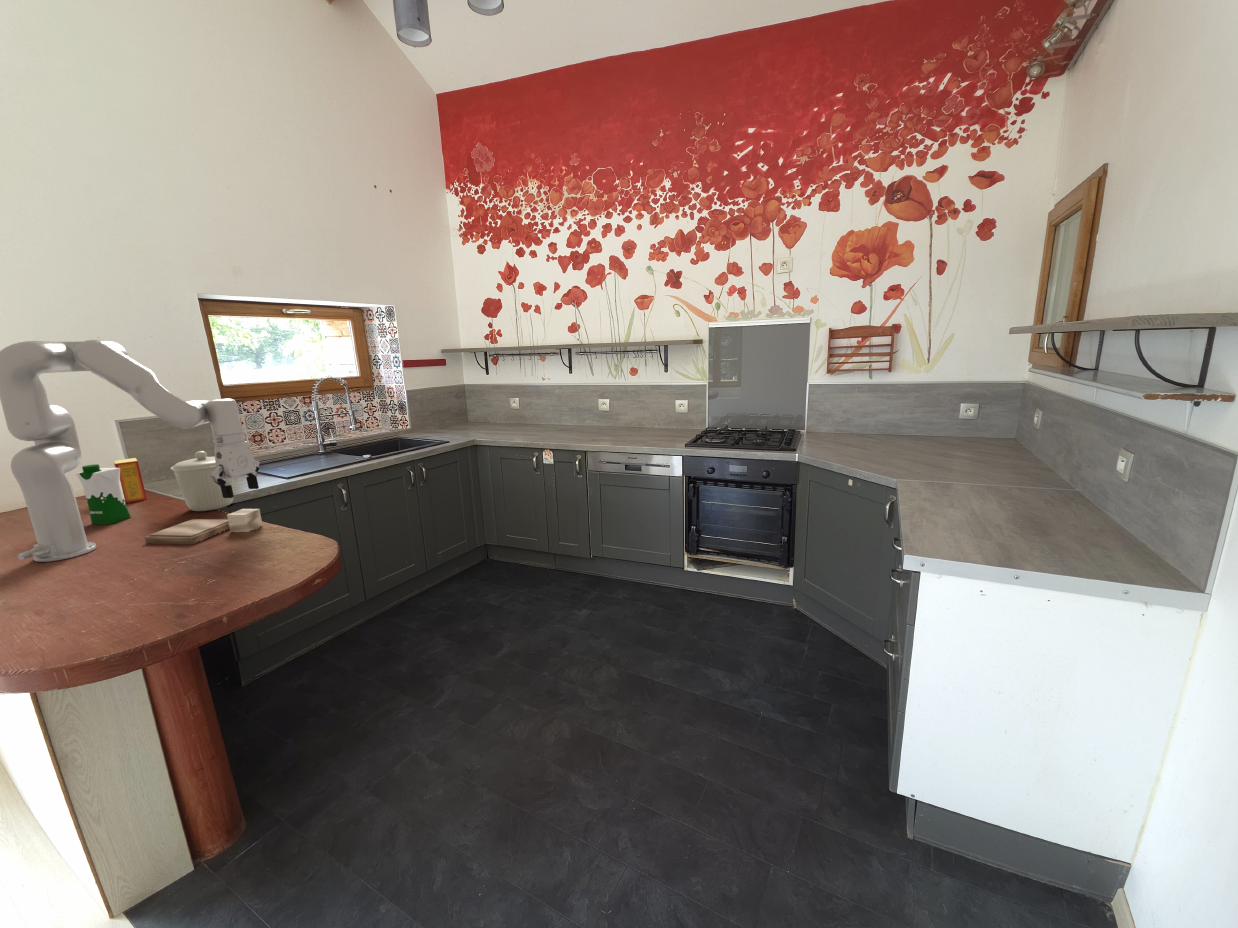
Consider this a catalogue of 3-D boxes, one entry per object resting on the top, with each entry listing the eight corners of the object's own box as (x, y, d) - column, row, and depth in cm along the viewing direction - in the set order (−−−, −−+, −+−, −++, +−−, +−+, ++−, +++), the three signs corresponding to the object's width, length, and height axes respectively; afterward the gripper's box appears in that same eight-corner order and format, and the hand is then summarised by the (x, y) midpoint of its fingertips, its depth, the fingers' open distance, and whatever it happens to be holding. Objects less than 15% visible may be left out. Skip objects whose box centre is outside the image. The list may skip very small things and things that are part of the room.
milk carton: (86, 525, 178) (70, 467, 173) (113, 516, 186) (99, 461, 182) (109, 525, 177) (94, 467, 172) (136, 516, 185) (122, 461, 181)
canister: (209, 516, 183) (196, 456, 179) (167, 514, 187) (153, 456, 182) (253, 500, 201) (243, 446, 196) (214, 499, 204) (203, 446, 200)
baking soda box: (122, 499, 209) (113, 459, 206) (144, 495, 214) (135, 456, 210) (124, 503, 203) (114, 462, 199) (146, 499, 207) (137, 459, 204)
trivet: (193, 544, 156) (191, 536, 156) (146, 543, 159) (144, 535, 158) (237, 525, 172) (236, 518, 171) (194, 525, 174) (192, 518, 173)
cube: (247, 533, 165) (244, 514, 164) (230, 532, 166) (226, 514, 164) (262, 526, 171) (259, 509, 169) (246, 526, 172) (242, 508, 170)
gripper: (216, 445, 153) (229, 501, 157) (262, 434, 170) (273, 485, 174) (193, 445, 154) (206, 501, 158) (241, 434, 171) (252, 485, 175)
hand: (241, 493), depth 166 cm, fingers open, 9 cm apart
